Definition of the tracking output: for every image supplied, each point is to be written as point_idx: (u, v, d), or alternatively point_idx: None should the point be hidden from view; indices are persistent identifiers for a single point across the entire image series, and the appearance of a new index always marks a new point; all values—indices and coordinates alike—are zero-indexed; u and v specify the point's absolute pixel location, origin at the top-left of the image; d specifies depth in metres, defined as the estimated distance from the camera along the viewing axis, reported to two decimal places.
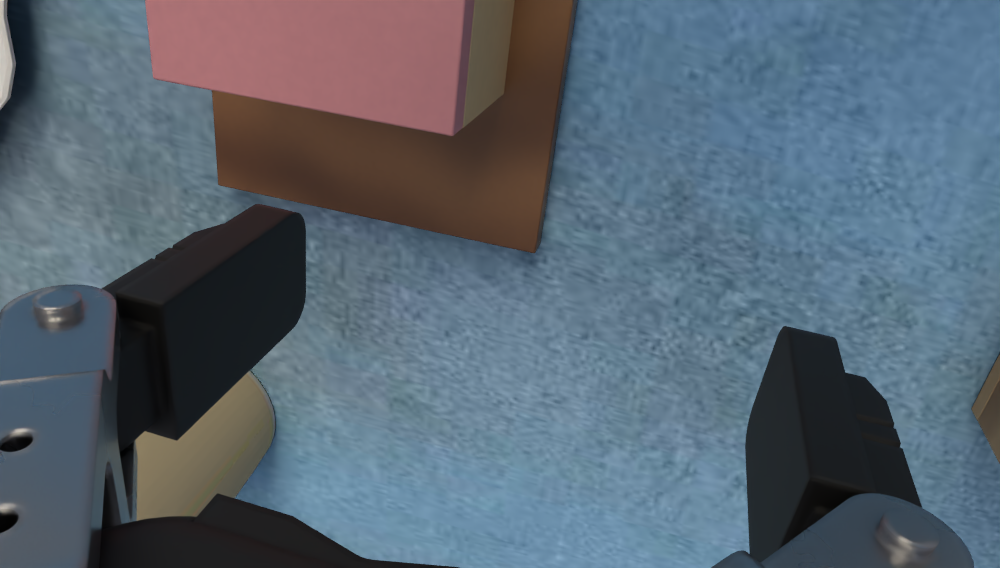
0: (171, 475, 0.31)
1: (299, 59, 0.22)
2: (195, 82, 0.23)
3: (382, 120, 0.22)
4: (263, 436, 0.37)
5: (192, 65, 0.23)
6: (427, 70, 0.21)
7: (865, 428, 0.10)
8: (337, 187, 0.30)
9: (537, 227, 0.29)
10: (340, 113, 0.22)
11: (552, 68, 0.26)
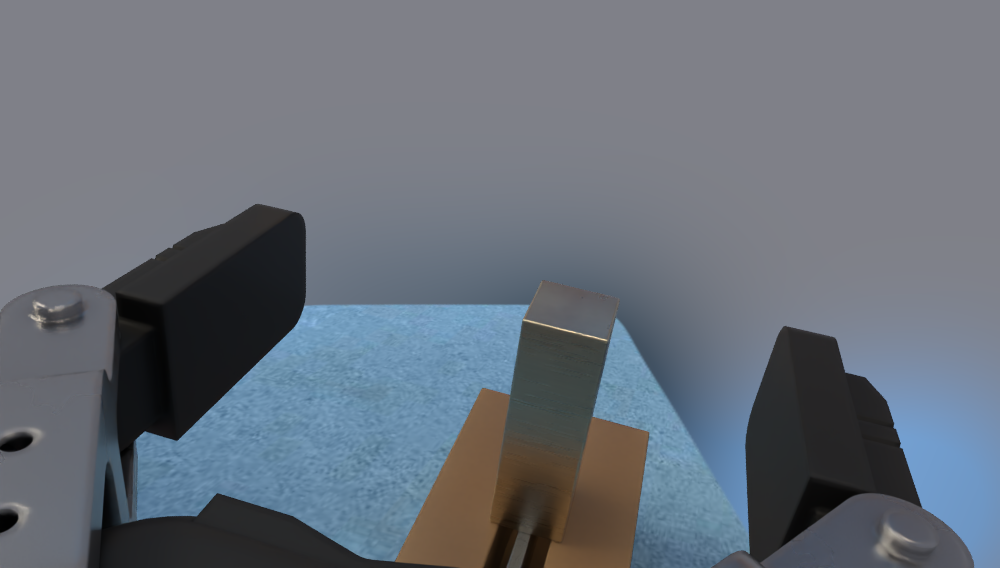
0: None
1: None
2: None
3: None
4: None
5: None
6: None
7: (865, 428, 0.10)
8: None
9: None
10: None
11: None
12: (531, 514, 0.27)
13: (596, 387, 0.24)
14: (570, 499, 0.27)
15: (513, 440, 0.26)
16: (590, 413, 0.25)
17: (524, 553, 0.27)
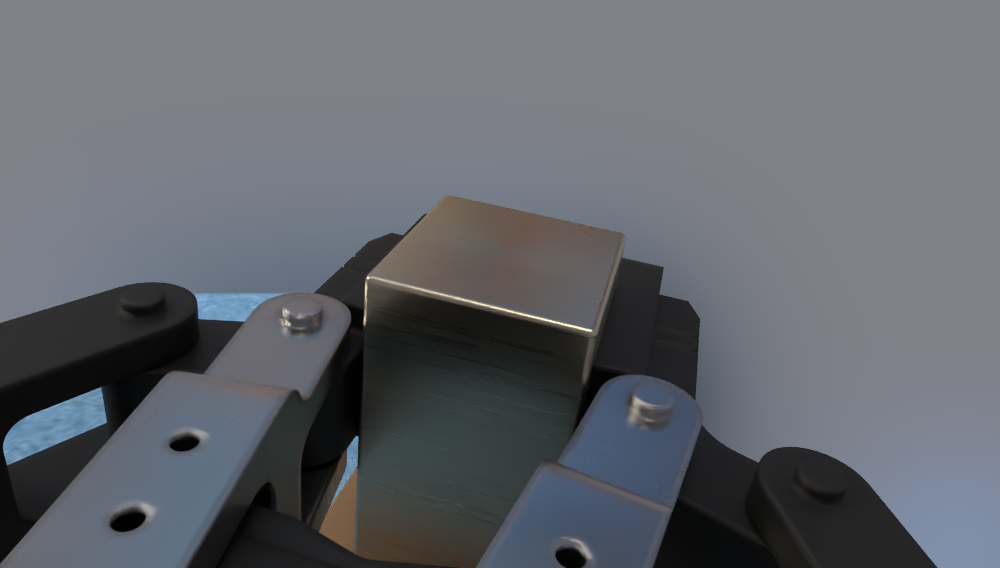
0: None
1: None
2: None
3: None
4: None
5: None
6: None
7: (670, 338, 0.11)
8: None
9: None
10: None
11: None
12: None
13: None
14: None
15: None
16: None
17: None
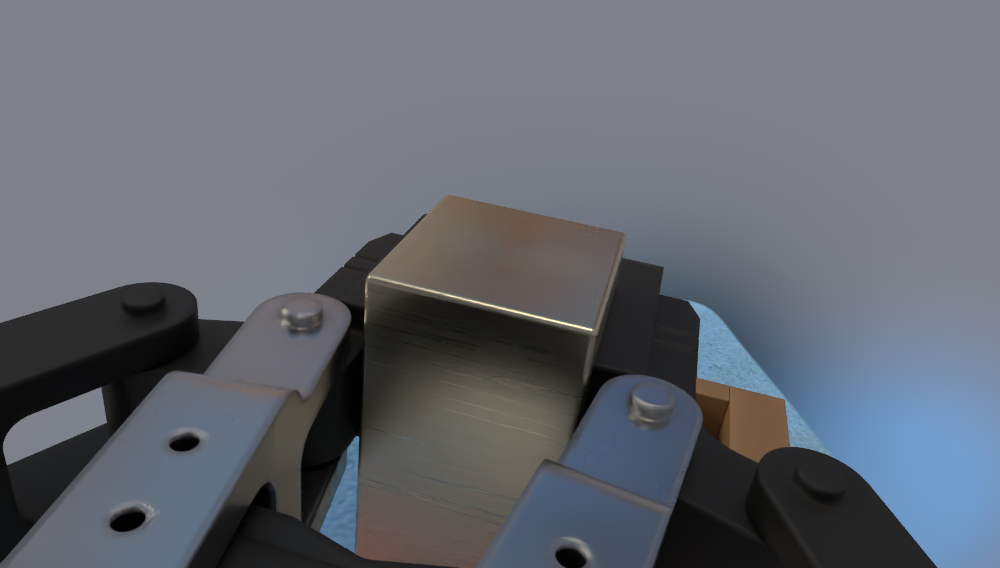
0: None
1: None
2: None
3: None
4: None
5: None
6: None
7: (671, 338, 0.11)
8: None
9: None
10: None
11: None
12: None
13: None
14: None
15: None
16: None
17: None
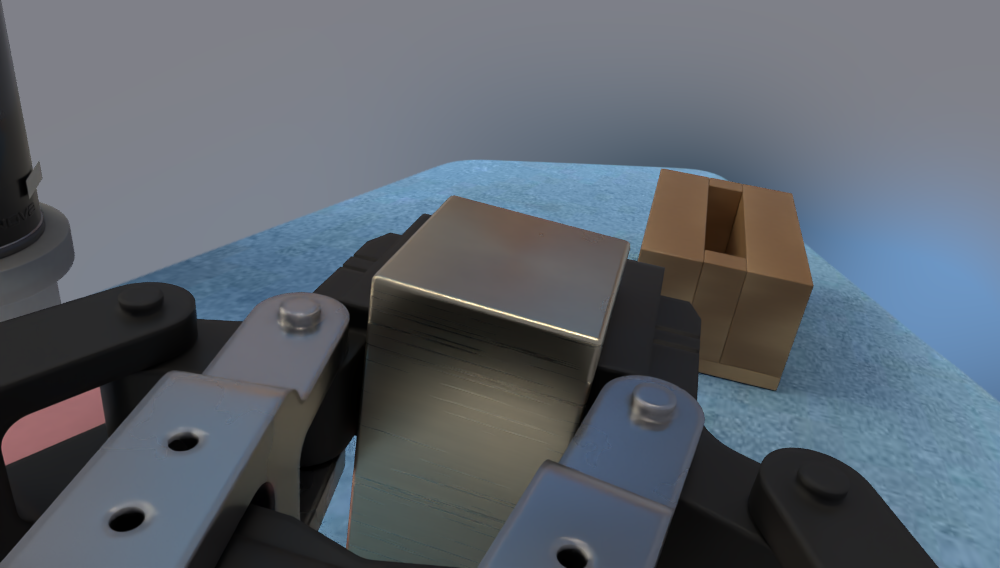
0: None
1: None
2: None
3: None
4: None
5: None
6: None
7: (672, 338, 0.11)
8: None
9: None
10: None
11: None
12: None
13: None
14: None
15: None
16: None
17: None
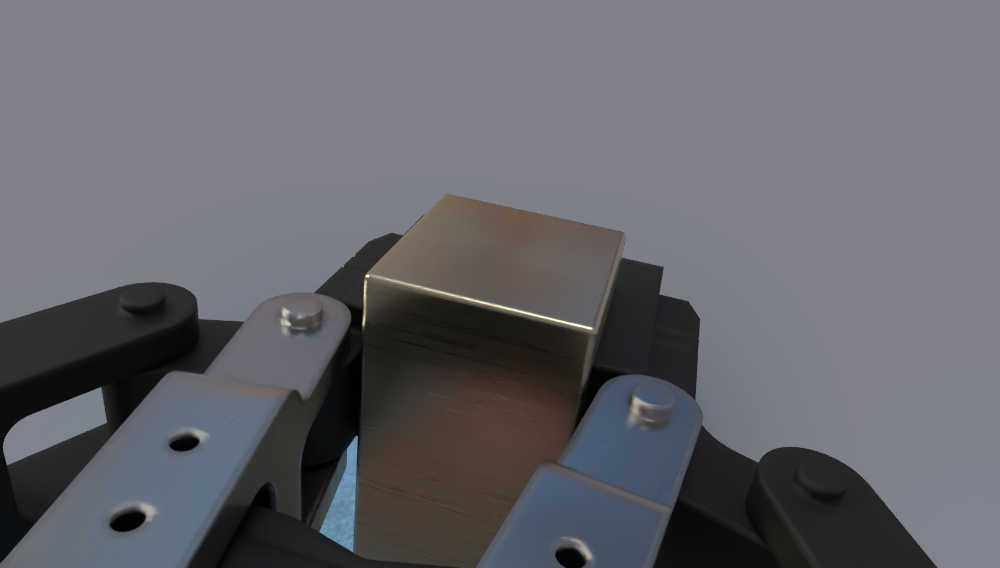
0: None
1: None
2: None
3: None
4: None
5: None
6: None
7: (670, 338, 0.11)
8: None
9: None
10: None
11: None
12: None
13: None
14: None
15: None
16: None
17: None
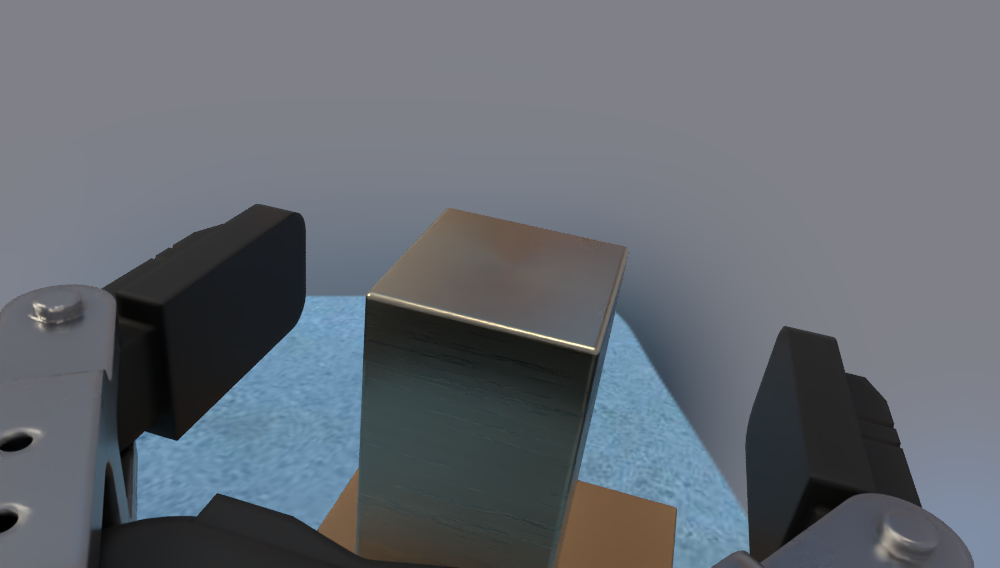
0: None
1: None
2: None
3: None
4: None
5: None
6: None
7: (865, 428, 0.10)
8: None
9: None
10: None
11: None
12: None
13: (569, 474, 0.09)
14: None
15: None
16: (555, 537, 0.10)
17: None
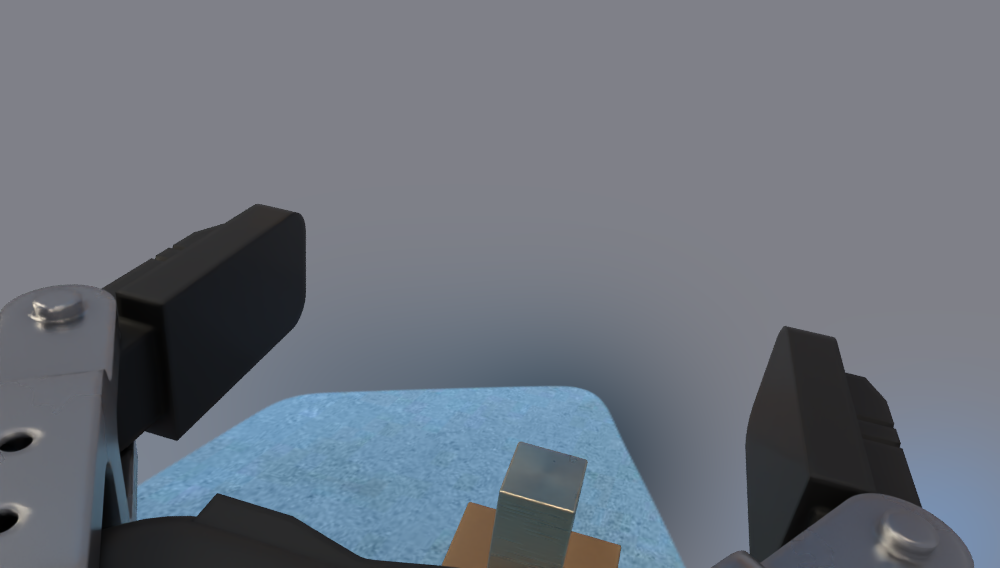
0: None
1: None
2: None
3: None
4: None
5: None
6: None
7: (865, 428, 0.10)
8: None
9: None
10: None
11: None
12: None
13: (565, 548, 0.27)
14: None
15: None
16: None
17: None
